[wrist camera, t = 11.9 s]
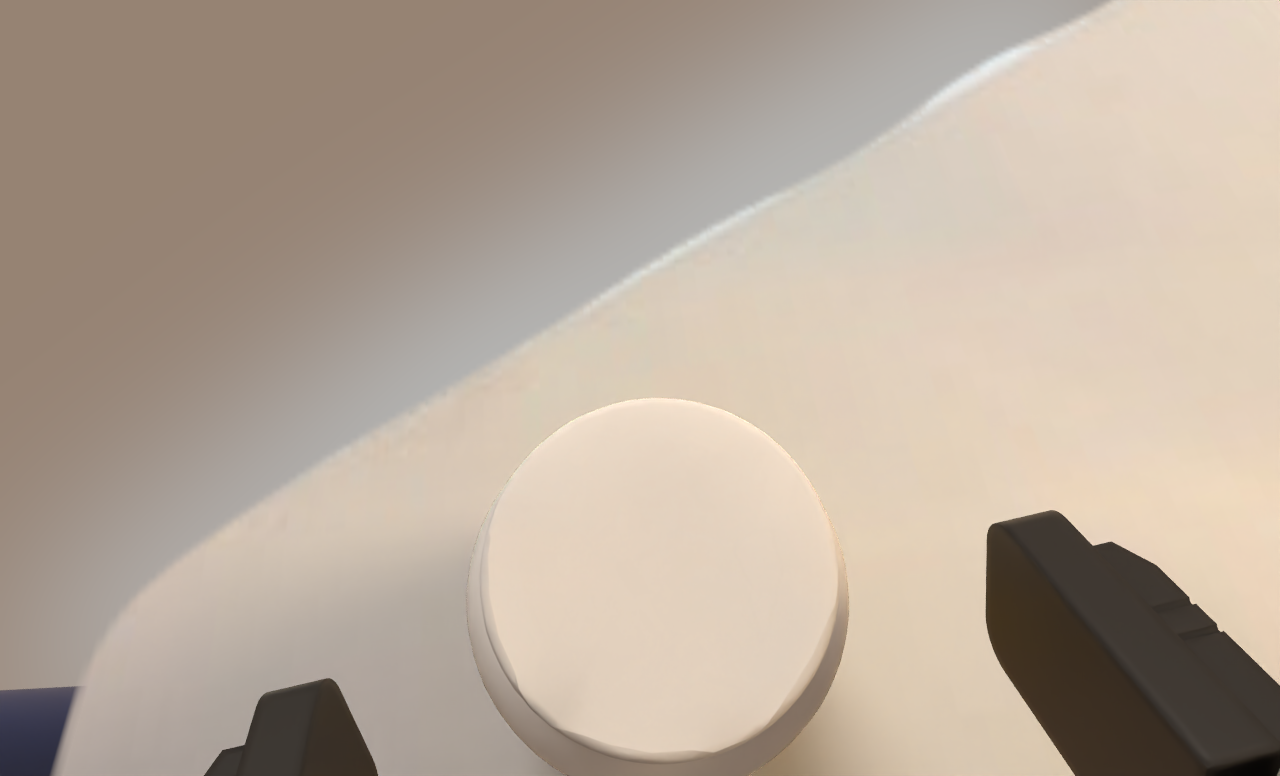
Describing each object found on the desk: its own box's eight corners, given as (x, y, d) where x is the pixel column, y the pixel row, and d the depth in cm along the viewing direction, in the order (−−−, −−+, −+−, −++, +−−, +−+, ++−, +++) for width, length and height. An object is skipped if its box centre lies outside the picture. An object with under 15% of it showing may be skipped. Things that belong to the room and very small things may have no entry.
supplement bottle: (836, 648, 19) (1013, 641, 9) (624, 808, 18) (587, 973, 9) (686, 442, 20) (710, 256, 11) (482, 583, 19) (317, 513, 10)
